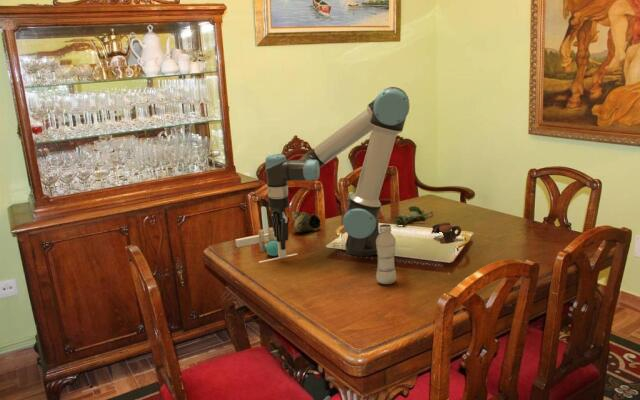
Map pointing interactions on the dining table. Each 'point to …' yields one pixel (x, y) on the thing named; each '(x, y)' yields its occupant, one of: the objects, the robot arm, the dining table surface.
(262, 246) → the pin
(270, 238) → the pin
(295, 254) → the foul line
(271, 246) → the ball
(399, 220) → the figure
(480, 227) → the dining table surface
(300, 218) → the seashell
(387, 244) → the plastic bottle
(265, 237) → the back rail
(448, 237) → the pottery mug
